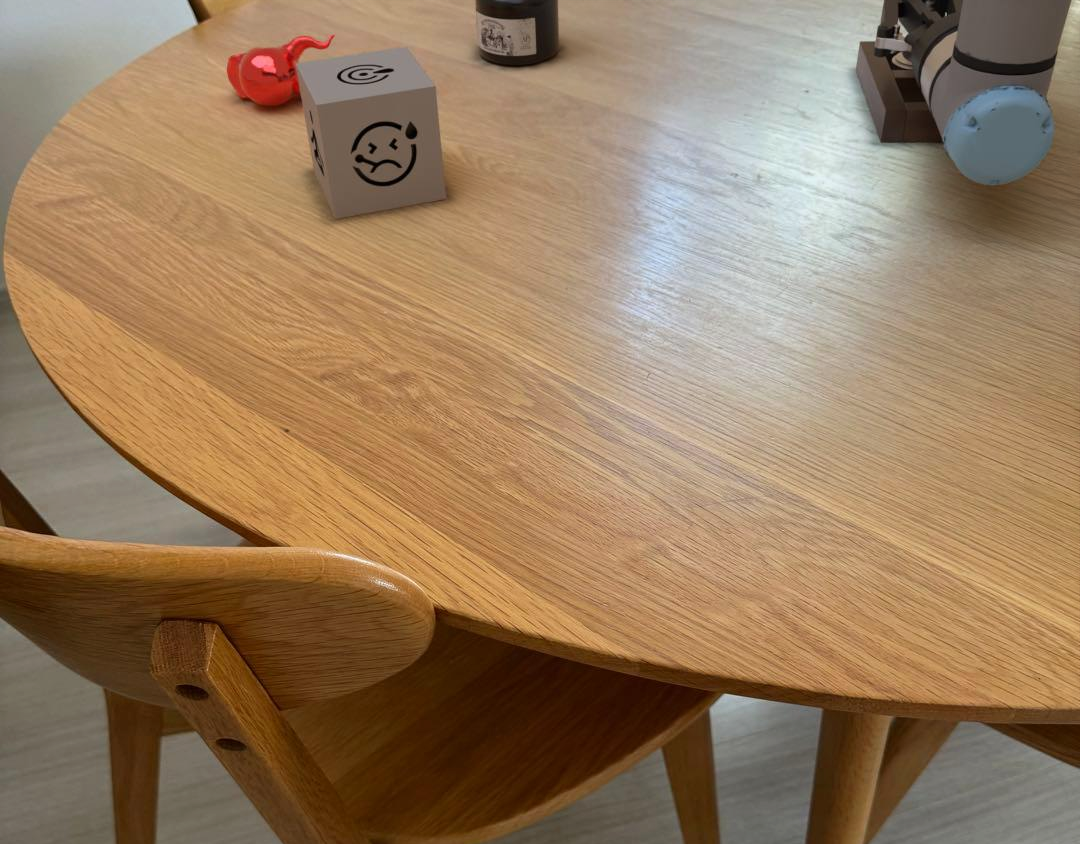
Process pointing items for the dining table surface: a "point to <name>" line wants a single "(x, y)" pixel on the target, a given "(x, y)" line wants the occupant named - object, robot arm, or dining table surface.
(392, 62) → the icon cube
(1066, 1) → the robot arm
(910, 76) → the brown divided frame
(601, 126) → the dining table surface
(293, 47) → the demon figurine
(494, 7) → the ink bottle
